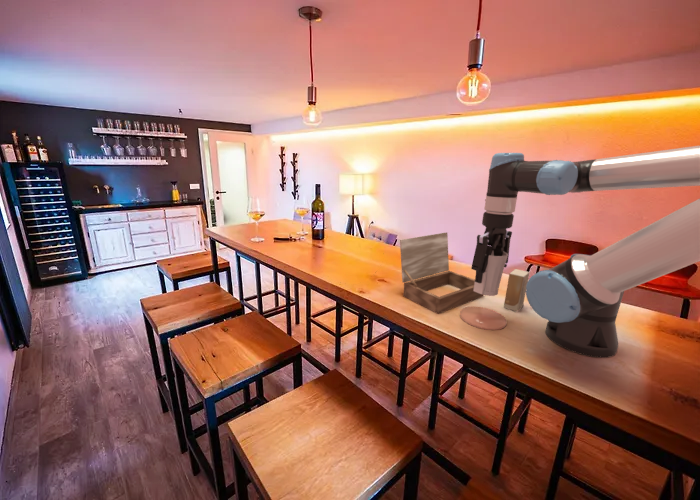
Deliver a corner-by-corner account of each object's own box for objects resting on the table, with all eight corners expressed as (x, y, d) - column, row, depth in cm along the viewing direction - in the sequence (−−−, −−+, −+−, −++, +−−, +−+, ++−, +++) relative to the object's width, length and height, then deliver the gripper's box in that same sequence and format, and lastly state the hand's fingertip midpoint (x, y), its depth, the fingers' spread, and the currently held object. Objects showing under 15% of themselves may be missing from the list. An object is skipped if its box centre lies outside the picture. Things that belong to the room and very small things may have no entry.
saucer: (515, 321, 87) (515, 319, 87) (490, 334, 80) (490, 332, 80) (475, 305, 97) (476, 303, 97) (450, 315, 90) (451, 313, 90)
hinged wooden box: (483, 296, 105) (491, 242, 99) (438, 313, 91) (444, 252, 86) (440, 279, 120) (445, 232, 114) (396, 292, 106) (399, 239, 101)
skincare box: (509, 302, 100) (515, 268, 97) (523, 306, 97) (530, 271, 94) (502, 307, 96) (508, 272, 93) (517, 312, 93) (524, 276, 90)
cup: (504, 298, 82) (511, 257, 79) (474, 295, 84) (480, 255, 80) (496, 287, 90) (503, 249, 86) (469, 284, 91) (474, 247, 88)
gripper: (505, 208, 89) (493, 278, 95) (464, 212, 78) (453, 292, 84) (531, 211, 83) (516, 286, 89) (490, 217, 72) (477, 302, 78)
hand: (486, 289), depth 86 cm, fingers closed on cup, 7 cm apart
